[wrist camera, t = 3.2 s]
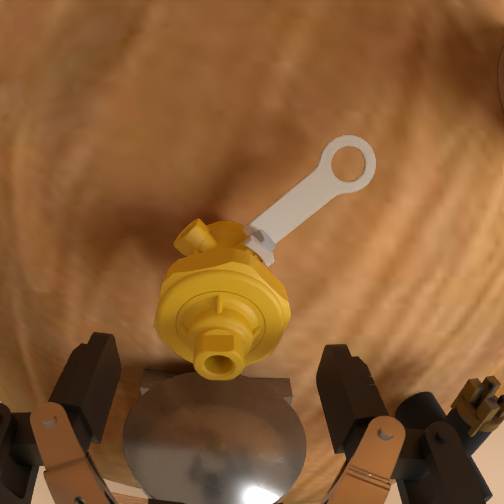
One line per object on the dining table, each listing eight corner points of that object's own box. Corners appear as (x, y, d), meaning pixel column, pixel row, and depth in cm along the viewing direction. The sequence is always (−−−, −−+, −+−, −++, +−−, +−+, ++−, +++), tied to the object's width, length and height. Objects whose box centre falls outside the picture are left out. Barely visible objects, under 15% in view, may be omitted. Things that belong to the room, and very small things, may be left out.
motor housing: (141, 352, 23) (99, 526, 10) (294, 362, 24) (326, 538, 11) (163, 454, 31) (152, 561, 18) (264, 460, 32) (273, 566, 19)
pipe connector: (434, 343, 25) (519, 459, 11) (469, 343, 26) (549, 440, 12) (386, 424, 29) (433, 531, 15) (421, 419, 30) (470, 514, 16)
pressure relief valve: (163, 236, 19) (111, 354, 10) (320, 100, 16) (416, 105, 7) (226, 293, 21) (222, 424, 12) (375, 175, 18) (482, 249, 9)
